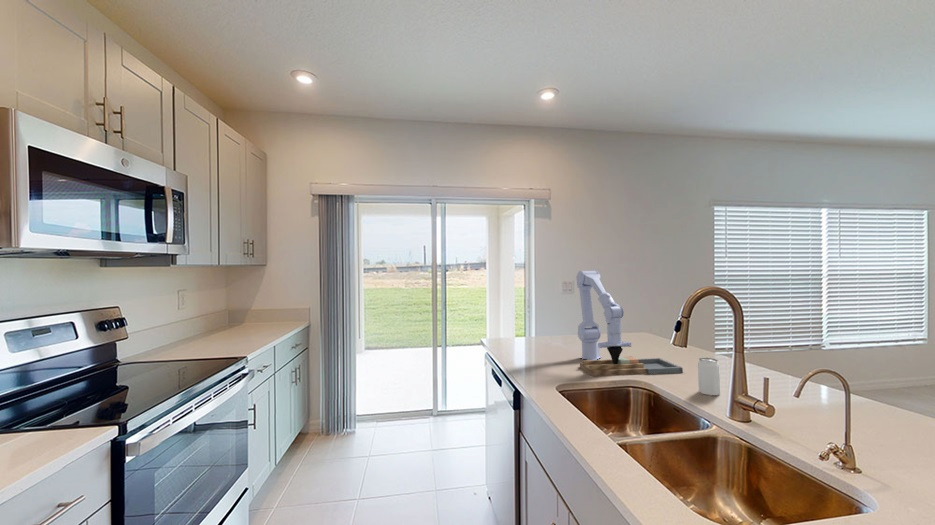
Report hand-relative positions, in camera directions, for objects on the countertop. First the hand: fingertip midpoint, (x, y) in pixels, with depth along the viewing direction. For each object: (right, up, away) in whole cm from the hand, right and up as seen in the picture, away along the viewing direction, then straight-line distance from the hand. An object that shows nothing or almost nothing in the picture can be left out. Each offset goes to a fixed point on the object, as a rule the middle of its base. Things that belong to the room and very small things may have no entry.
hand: (615, 363), depth 162 cm
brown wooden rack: (-1, -3, 0) cm, 3 cm away
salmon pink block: (+7, -1, +1) cm, 7 cm away
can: (+21, -2, -31) cm, 38 cm away
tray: (+18, -3, +1) cm, 18 cm away
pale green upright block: (+3, -1, 0) cm, 3 cm away
